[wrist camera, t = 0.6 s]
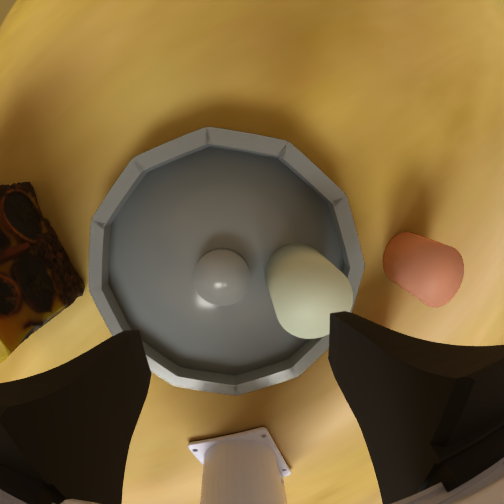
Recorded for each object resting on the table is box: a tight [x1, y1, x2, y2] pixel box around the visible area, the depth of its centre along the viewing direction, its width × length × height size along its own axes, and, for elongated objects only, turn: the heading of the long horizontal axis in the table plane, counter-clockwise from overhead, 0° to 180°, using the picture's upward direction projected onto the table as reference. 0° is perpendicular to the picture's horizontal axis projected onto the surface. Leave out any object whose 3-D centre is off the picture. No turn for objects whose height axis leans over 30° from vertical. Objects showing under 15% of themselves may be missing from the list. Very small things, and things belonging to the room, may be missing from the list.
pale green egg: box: [265, 243, 353, 339], centre depth 16 cm, size 4×4×5 cm
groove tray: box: [89, 127, 365, 395], centre depth 19 cm, size 18×18×2 cm
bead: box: [383, 232, 464, 307], centre depth 18 cm, size 4×4×5 cm
